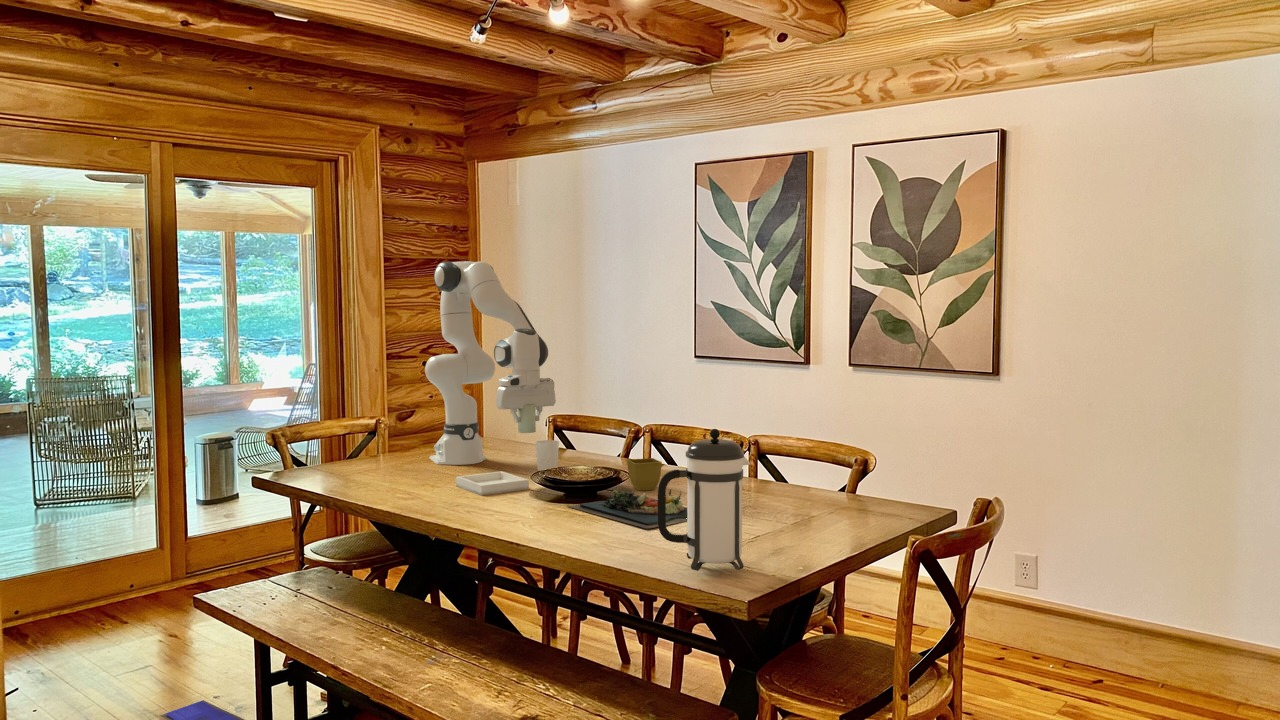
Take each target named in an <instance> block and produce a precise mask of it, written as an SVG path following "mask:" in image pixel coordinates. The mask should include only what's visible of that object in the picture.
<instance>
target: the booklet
mask: <svg viewBox="0 0 1280 720" xmlns="http://www.w3.org/2000/svg"><path fill="white" fill-rule="evenodd" d="M159 717H161V718H162V719H165V720H245V718H242V717H240V716H238V715H235V714H233V713H232V712H229V711H227V710H225V709H224V708H221V707H219V706H216V705H215V704H212V703H209V702H208V701H207V700H200V701H199V700H198V701H197V702H195V703H191V704H189V705H185V706H183V707H180V708H177V709H175V710H171V711H168V712H166V713H163V714H159Z"/></svg>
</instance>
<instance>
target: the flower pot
mask: <svg viewBox="0 0 1280 720" xmlns="http://www.w3.org/2000/svg"><path fill="white" fill-rule="evenodd" d="M626 462H627V471H628V477H629V480H630V483H631V484H632V486H633V488H634V489H636V490H638V491H640V492H642V491H654V490H656V488H657V486H659V483H660V480H661V473H662V463H663V462H662V461H660V460H657V459H655V458H654V457H649V458H646V457H645V458H632V459H631V458H630V459H626Z"/></svg>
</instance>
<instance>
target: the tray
mask: <svg viewBox="0 0 1280 720" xmlns="http://www.w3.org/2000/svg"><path fill="white" fill-rule="evenodd" d="M455 486H456V487H458V488H460V489H463V490H466V491H467V492H468V491H469V492H471V493H474V494H476V495H479V496H489V495H490V496H491V495H495V494H504V493H512V492H518V491H520V492H521V491H528V490H530V487H529V479H527V478H525V477H521V476H517V475H515V474H511V473H509V472H506V471H502V470H501V471H493V472H483V473H476V474H467V475H460V476H455Z"/></svg>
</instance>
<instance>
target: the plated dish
mask: <svg viewBox="0 0 1280 720" xmlns="http://www.w3.org/2000/svg"><path fill="white" fill-rule="evenodd" d="M612 493H613V495H610V496H609V497H608V498H607V499H606V500H598V501H592V502H583V503H579V504H574V505H567V508H571V509H575V510H578V511H581V512H585V513H588V514H589V513H590V514H592V515H597V516H600V517H603V518H607V519H611V520H614V521H617V522H620V523H625V524H628V525H633V526H635V527H640V528H643V529H645V530H646V529H648V530H649V529H653V528H659V527H658V498H657V499H654V498H652V497H647V494H646V492H644V493H643V494H642V495H635V491H631V490H627V491H626V490H624V491H621V492H620V490H617V489H615V490H613V491H612ZM681 499H682V490H680V492H679V495H678V496H676V495H672V488H670V489H669V491H668V496H666V526H669V525H673V524H674V525H675V524H681V523H686V522H687V519H686V518H687V507H685V506H683V505H684V504H683V503H682V500H681Z"/></svg>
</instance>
